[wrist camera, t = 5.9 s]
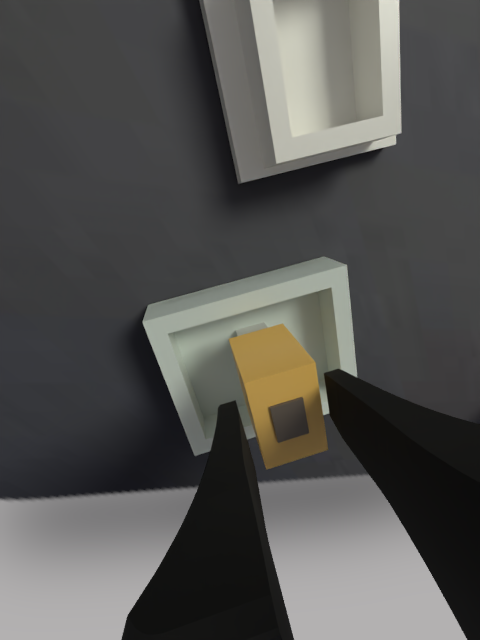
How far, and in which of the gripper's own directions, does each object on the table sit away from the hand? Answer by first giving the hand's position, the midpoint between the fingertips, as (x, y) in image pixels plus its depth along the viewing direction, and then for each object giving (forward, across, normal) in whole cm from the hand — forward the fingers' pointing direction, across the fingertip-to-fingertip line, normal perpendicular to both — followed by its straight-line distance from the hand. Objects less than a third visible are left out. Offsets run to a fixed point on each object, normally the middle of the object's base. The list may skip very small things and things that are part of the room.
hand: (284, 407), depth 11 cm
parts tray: (+5, 0, 0) cm, 5 cm away
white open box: (+5, -4, -12) cm, 13 cm away
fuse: (+5, 0, 0) cm, 5 cm away
